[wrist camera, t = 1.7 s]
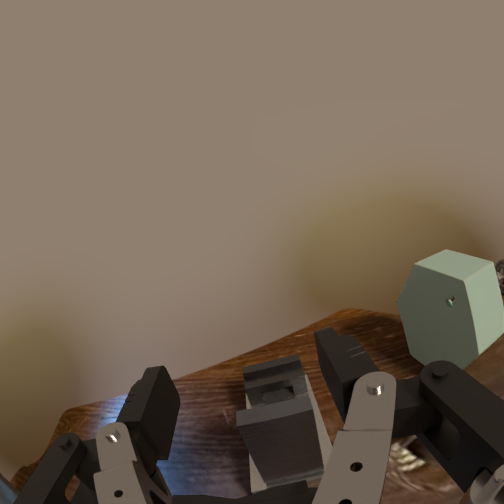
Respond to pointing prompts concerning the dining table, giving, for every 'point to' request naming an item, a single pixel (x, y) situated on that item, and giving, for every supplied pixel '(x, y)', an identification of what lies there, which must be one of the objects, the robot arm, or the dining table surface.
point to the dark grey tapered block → (282, 439)
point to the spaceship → (500, 264)
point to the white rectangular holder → (278, 390)
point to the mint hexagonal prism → (451, 308)
